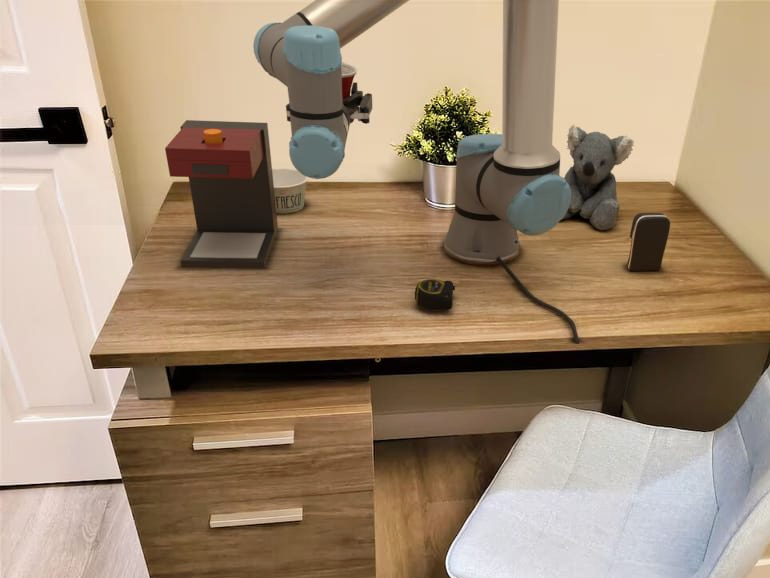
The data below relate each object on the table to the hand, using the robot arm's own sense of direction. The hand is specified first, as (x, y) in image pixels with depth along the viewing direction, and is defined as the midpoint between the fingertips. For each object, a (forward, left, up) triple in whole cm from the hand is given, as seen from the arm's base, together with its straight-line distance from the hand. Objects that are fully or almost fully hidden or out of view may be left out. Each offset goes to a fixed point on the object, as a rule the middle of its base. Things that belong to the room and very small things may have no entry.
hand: (335, 89), depth 135 cm
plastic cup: (-4, +3, -7) cm, 8 cm away
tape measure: (-33, -2, -30) cm, 45 cm away
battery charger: (-40, -46, -30) cm, 68 cm away
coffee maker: (+6, +21, -30) cm, 37 cm away
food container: (+22, +4, -30) cm, 37 cm away
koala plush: (-13, -55, -30) cm, 64 cm away
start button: (+3, +22, -8) cm, 24 cm away
